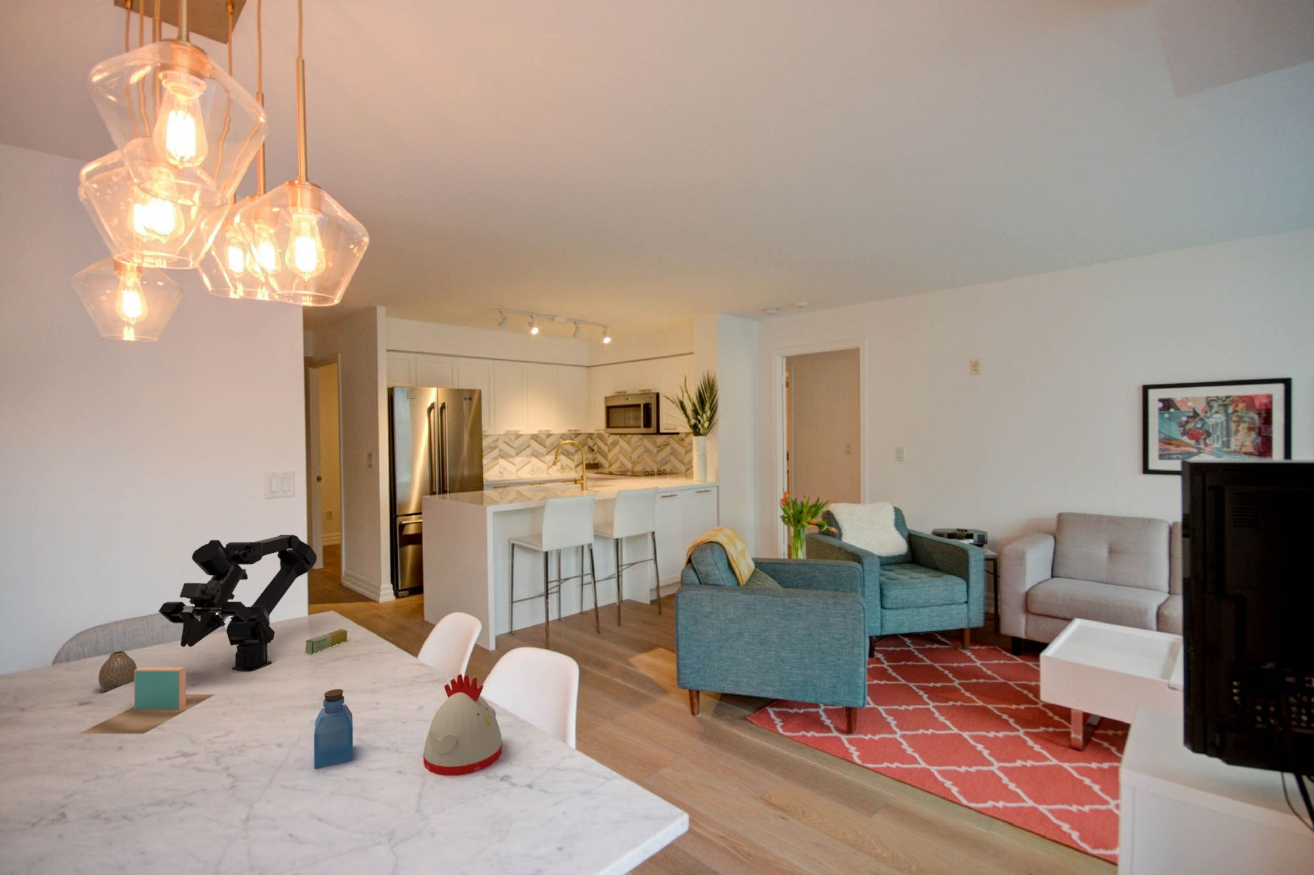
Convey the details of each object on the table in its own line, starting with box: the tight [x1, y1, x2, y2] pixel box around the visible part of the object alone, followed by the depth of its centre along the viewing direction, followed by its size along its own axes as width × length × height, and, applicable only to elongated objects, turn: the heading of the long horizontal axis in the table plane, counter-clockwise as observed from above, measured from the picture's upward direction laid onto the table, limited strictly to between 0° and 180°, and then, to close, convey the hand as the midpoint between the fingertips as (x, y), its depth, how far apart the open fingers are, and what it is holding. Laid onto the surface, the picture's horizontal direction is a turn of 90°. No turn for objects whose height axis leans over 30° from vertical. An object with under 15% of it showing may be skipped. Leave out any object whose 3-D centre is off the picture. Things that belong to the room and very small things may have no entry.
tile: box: [133, 666, 187, 710], centre depth 132 cm, size 2×10×8 cm, turn 89°
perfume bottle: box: [313, 688, 354, 770], centre depth 113 cm, size 6×6×12 cm
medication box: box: [304, 628, 348, 656], centre depth 175 cm, size 12×3×4 cm, turn 159°
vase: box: [98, 650, 138, 693], centre depth 146 cm, size 7×7×9 cm
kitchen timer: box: [422, 673, 503, 777], centre depth 114 cm, size 14×14×15 cm
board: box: [80, 693, 216, 735], centre depth 130 cm, size 19×13×2 cm
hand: (185, 646), depth 139 cm, fingers closed
